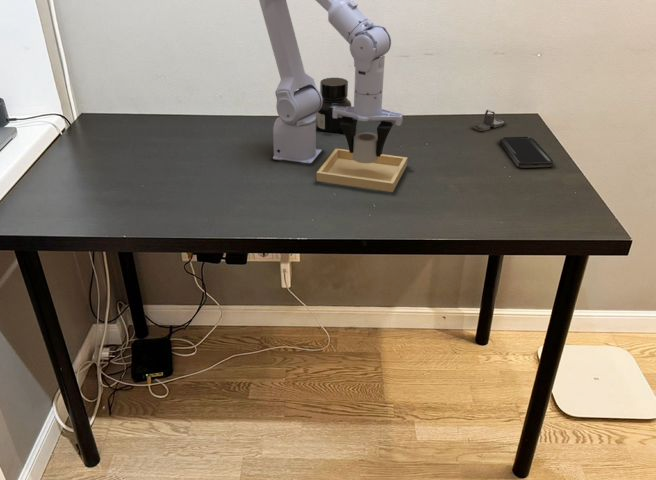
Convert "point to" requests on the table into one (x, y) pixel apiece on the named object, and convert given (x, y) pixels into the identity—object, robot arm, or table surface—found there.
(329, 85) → the ink bottle
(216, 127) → the table surface
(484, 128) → the strap clip
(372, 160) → the tape roll
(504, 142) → the phone
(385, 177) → the tray
